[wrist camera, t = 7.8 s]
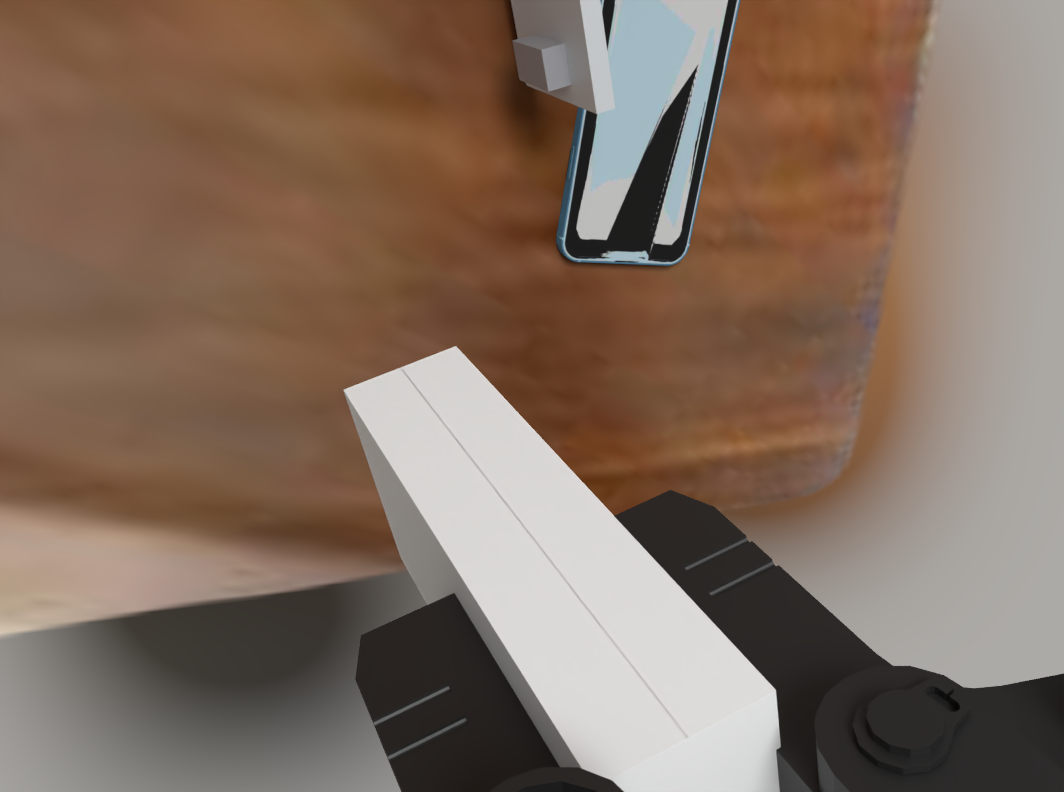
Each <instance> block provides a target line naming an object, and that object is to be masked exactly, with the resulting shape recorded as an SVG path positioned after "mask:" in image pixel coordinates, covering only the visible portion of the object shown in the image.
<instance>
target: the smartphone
mask: <svg viewBox="0 0 1064 792" xmlns="http://www.w3.org/2000/svg"><path fill="white" fill-rule="evenodd" d="M600 2H601V9H602V16H603V23H604V30H605V38H606V45H607V52H608V59H609V66H610V74H611V81H612V88H613V95H614V102H615V109H612V110H608V111H605V112H602V113H599V114H595V113H593V112H590V111H588V110H586V109H583V108H581V107H578V111H577V117H576V123H575V129H574V135H573V141H572V147H571V153H570V158H569V164H568V170H567V176H566V182H565V188H564V194H563V200H562V206H561V212H560V218H559V224H558V230H557V237H556V242H557V247H558V249H559V251H560V252H561V254H563V255H564V256H565V257H567V258H568V259H570V260H572V261H575V262H591V263H615V264H640V265H664V266H669V265H674V264H676V263H678V262H679V261H680V260H682V259H683V257H684V256H685V255H686V253H687V251H688V248H689V244H690V239H691V235H692V230H693V225H694V220H695V215H696V211H697V206H698V201H699V196H700V192H701V187H702V182H703V177H704V172H705V168H706V163H707V158H708V153H709V148H710V144H711V139H712V134H713V129H714V124H715V120H716V115H717V110H718V105H719V100H720V96H721V91H722V86H723V81H724V76H725V72H726V67H727V62H728V57H729V52H730V48H731V43H732V38H733V33H734V28H735V24H736V19H737V14H738V9H739V4H740V0H600Z"/></svg>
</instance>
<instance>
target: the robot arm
mask: <svg viewBox="0 0 1064 792" xmlns="http://www.w3.org/2000/svg"><path fill="white" fill-rule="evenodd" d="M344 393H345V396H346V399H347V402H348V405H349V408H350V411H351V414H352V417H353V420H354V423H355V426H356V428H357V431H358V434H359V437H360V440H361V443H362V446H363V449H364V452H365V455H366V458H367V461H368V464H369V466H370V469H371V472H372V475H373V478H374V481H375V484H376V487H377V490H378V493H379V496H380V499H381V502H382V504H383V507H384V510H385V513H386V516H387V519H388V522H389V525H390V528H391V531H392V534H393V537H394V540H395V542H396V545H397V548H398V551H399V554H400V557H401V559H402V561H403V563H404V565H405V566H406V568H407V570H408V572H409V573H410V575H411V577H412V579H413V581H414V582H415V584H416V586H417V588H418V589H419V591H420V593H421V595H422V597H423V599H424V600H425V602H426V604H427V605H426V606H424V607H422V608H420V609H418V610H415V611H413V612H411V613H409V614H407V615H405V616H402V617H400V618H398V619H396V620H394V621H392V622H389V623H387V624H385V625H383V626H381V627H378V628H377V629H374V630H372V631H370V632H368V633H365V634H363V635H361V640H360V648H359V656H358V665H357V672H356V682H357V684H358V687H359V689H360V692H361V694H362V697H363V699H364V701H365V704H366V706H367V709H368V711H369V714H370V716H371V718H372V721H373V723H374V726H375V728H376V731H377V733H378V736H379V738H380V741H381V743H382V746H383V748H384V750H385V753H386V755H387V757H388V760H389V762H390V765H391V768H392V770H393V772H394V775H395V777H396V780H397V782H398V785H399V787H400V789H401V792H1064V674H1060V675H1055V676H1049V677H1044V678H1040V679H1034V680H1029V681H1024V682H1019V683H1014V684H1009V685H1003V686H996V687H985V688H963V687H962V686H960V685H959V684H957V683H955V682H954V681H952V680H951V679H949V678H947V677H946V676H944V675H940V674H937V673H934V672H930V671H926V670H923V669H919V668H915V667H911V666H892V665H891V664H890V663H888V662H887V661H886V660H884V659H882V658H881V657H880V656H879V655H877V654H876V653H875V652H874V651H873V650H872V649H870V648H869V647H868V646H867V645H866V644H865V643H864V642H863V641H862V640H861V639H859V638H858V637H857V636H856V635H855V634H854V633H853V632H852V631H850V629H848V628H847V627H846V626H845V625H844V624H843V623H842V622H841V621H840V620H838V619H837V618H836V617H835V616H834V615H833V614H832V613H831V612H829V610H827V609H826V608H825V607H824V606H823V605H822V604H821V603H820V602H819V601H818V600H816V599H815V598H814V597H813V596H812V595H811V594H810V593H809V592H807V591H806V590H805V589H804V588H803V587H802V586H801V585H800V584H799V583H798V582H797V581H795V580H794V579H793V578H792V577H791V576H790V575H789V574H788V573H786V572H785V571H784V570H783V569H782V568H781V567H780V566H779V565H778V566H775V565H774V564H773V562H772V559H771V558H770V557H769V556H768V555H767V554H766V553H764V552H763V551H762V550H761V549H760V548H759V547H758V546H757V545H756V544H755V543H753V542H750V543H749V541H748V540H747V538H746V535H745V534H743V533H742V532H741V531H740V530H739V529H738V528H737V527H736V526H735V525H733V524H732V523H731V522H730V521H729V520H728V519H727V518H726V517H725V516H724V515H723V514H721V513H720V512H719V511H718V510H717V509H716V508H715V507H713V506H710V505H708V504H705V503H703V502H700V501H697V500H695V499H692V498H690V497H687V496H685V495H682V494H679V493H677V492H674V491H672V490H670V491H667V492H665V493H663V494H661V495H659V496H656V497H654V498H652V499H650V500H648V501H646V502H643V503H641V504H639V505H637V506H635V507H632V508H630V509H628V510H626V511H624V512H622V513H619V514H617V515H615V516H613V514H612V513H611V512H610V511H609V510H608V509H607V508H606V507H605V506H604V505H603V504H602V503H601V502H600V500H599V499H598V498H597V497H596V496H595V495H594V494H593V493H592V492H591V491H590V490H589V489H588V488H587V486H586V485H585V484H584V483H583V482H582V481H581V480H580V479H579V478H578V477H577V476H576V475H575V474H574V473H573V471H572V470H571V469H570V468H569V467H568V466H567V465H566V464H565V463H564V462H563V461H562V460H561V459H560V457H559V456H558V455H557V454H556V453H555V452H554V451H553V450H552V449H551V448H550V447H549V446H548V445H547V444H546V442H545V441H544V440H543V439H542V438H541V437H540V436H539V435H538V434H537V433H536V432H535V431H534V430H533V428H532V427H531V426H530V425H529V424H528V423H527V422H526V421H525V420H524V419H523V418H522V417H521V416H520V414H519V413H518V412H517V411H516V410H515V409H514V408H513V407H512V406H511V405H510V404H509V403H508V402H507V401H506V399H505V398H504V397H503V396H502V395H501V394H500V393H499V392H498V391H497V390H496V389H495V388H494V387H493V385H492V384H491V383H490V382H489V381H488V380H487V379H486V378H485V377H484V376H483V375H482V374H481V373H480V372H479V370H478V369H477V368H476V367H475V366H474V365H473V364H472V363H471V362H470V361H469V360H468V359H467V358H466V356H465V355H464V354H463V353H462V352H461V351H460V350H459V349H458V348H457V347H456V346H455V347H453V348H450V349H447V350H445V351H442V352H440V353H437V354H434V355H432V356H429V357H427V358H424V359H422V360H419V361H416V362H414V363H411V364H409V365H406V366H404V367H401V368H398V369H396V370H393V371H391V372H388V373H386V374H383V375H380V376H378V377H375V378H373V379H370V380H367V381H365V382H362V383H360V384H357V385H355V386H352V387H349V388H347V389H344Z"/></svg>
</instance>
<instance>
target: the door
mask: <svg viewBox="0 0 1064 792" xmlns="http://www.w3.org/2000/svg"><path fill="white" fill-rule="evenodd" d="M511 4H512V10H513V15H514V21H515V26H516V31H517V37H518V39H516V40H512V42H513V48H514V53H515V59H516V64H517V69H518V75H519V80H521V81H523V82H526V85H527V86H529V87H532V88H534V89H536V90H539V91H541V92H544V93H546V94H549V95H551V96H554V97H556V98H559V99H561V100H563V101H566V102H568V103H571V104H573V105H576V106H578V107H581V108H583V109H586V110H588V111H590V112H593V113H595V114H599V113H602V112H605V111H608V110H612V109H615V102H614V95H613V88H612V81H611V74H610V66H609V59H608V52H607V45H606V38H605V30H604V23H603V16H602V9H601V2H600V0H511Z"/></svg>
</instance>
